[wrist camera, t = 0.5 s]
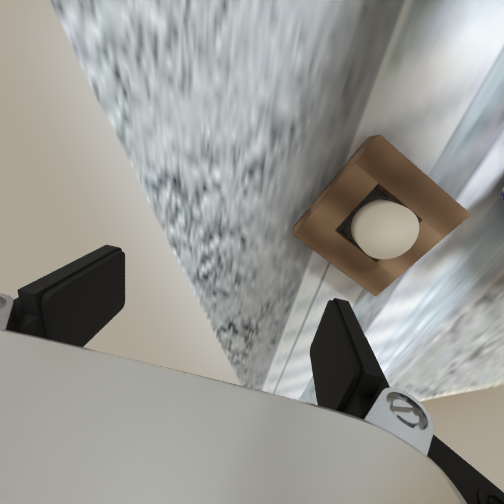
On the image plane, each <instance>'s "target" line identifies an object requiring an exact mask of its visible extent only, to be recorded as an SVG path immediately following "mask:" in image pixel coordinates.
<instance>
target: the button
mask: <svg viewBox="0 0 504 504" xmlns="http://www.w3.org/2000/svg"><path fill="white" fill-rule="evenodd" d="M351 234H352V237H353V239H354V240H355V242H356V243H357V244H358V245H359V246H360V247H361V249H362V250H363V251H364V252H365V253H366V254H368V255H369V256H371V257H373V258H376V259H391V258H395V257H398V256H400V255H402V254H403V253H405V252H406V251H408V250H409V249H410V248H411V247H412V245H413V244H414V243H415V241H416V239H417V237H418V234H419V222H418V219H417V217H416V215H415V214H414V213H413V212H412V211H411V210H410V209H408V208H406V207H404V206H402V205H399V204H397V203H395V202H392V201H389V200H375V201H372V202H369V203H367V204H366V205H364V206H363V207H361V208H360V209H359V210H358V211H357V212H356V214H355V215H354V217H353V219H352V222H351Z"/></svg>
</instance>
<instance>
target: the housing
mask: <svg viewBox="0 0 504 504" xmlns="http://www.w3.org/2000/svg"><path fill="white" fill-rule="evenodd" d="M375 187H377V188H378V189H380V190H381V191H382V192H383V193H384V194H386V195H387V196H388V197H389V198H390V199H392V200H393V201H394V202H395V203H397V204H399V205H402V206H404V207H406V208H408V209H410V210H411V211H412V212H413V213H414V214H415V215H416V217H417V219H418V222H419V234H418V237H417V239H416V241H415V243H414V244H413V245H412V247H411V248H410V249H409V250H408V251H406V252H405V253H403V254H402V255H400V256H398V257H395V258H391V259H376V258H373V257H371V256H369V255H368V254H366V253H365V252H364V251H363V250H362V249H361V247H359V246H358V245H357V244H356V243H354V242H353V241H352V240H350V239H349V238H348V237H347V236H345V235H344V234H343V233H341V232H340V231H339V230H338V229H337V227H338V226H339V225H340V224H341V223H342V222H343V221H344V220H345V219H346V218H347V217H348V216H349V215H350V213H351V212H352V211H353V210H354V209H355V208H356V207H357V206H358V205H359V204H360V203H361V202H362V201H363V199H364V198H365V197H366V196H367V195H368V194H369V193H370V192H371V191H372V190H373V189H374V188H375ZM470 215H471V214H470V213H469V212H468V211H467V210H466V209H464V208H463V207H462V206H461V205H460V204H459V203H457V202H456V201H455V200H454V199H453V198H452V197H451V196H449V195H448V194H447V193H446V192H445V191H444V190H443V189H441V188H440V187H439V186H438V185H437V184H436V183H435V182H433V181H432V180H431V179H430V178H429V177H428V176H427V175H425V174H424V173H423V172H422V171H421V170H420V169H419V168H417V167H416V166H415V165H414V164H413V163H412V162H411V161H409V160H408V159H407V158H406V157H405V156H404V155H403V154H401V153H400V152H399V151H398V150H397V149H396V148H394V147H393V146H392V145H391V144H390V143H389V142H388V141H386V140H385V139H384V138H383V137H382V136H381V135H376V136H371V137H368V138H367V140H366V141H365V142H364V143H363V144H362V145H361V147H360V148H359V149H358V150H357V151H356V153H355V154H354V155H353V156H352V157H351V159H350V160H349V161H348V162H347V163H346V165H345V166H344V167H343V168H342V169H341V171H340V172H339V173H338V174H337V175H336V176H335V178H334V179H333V180H332V181H331V182H330V184H329V185H328V186H327V187H326V188H325V190H324V191H323V192H322V193H321V194H320V196H319V197H318V198H317V199H316V200H315V202H314V203H313V204H312V205H311V206H310V207H309V209H308V210H307V211H306V212H305V213H304V215H303V216H302V217H301V218H300V219H299V221H298V222H297V223H296V224H295V225H294V227H293V233H294V236H295V237H297V238H298V239H299V240H301V241H302V242H303V243H305V244H306V245H307V246H309V247H310V248H311V249H313V250H314V251H315V252H317V253H318V254H319V255H321V256H322V257H323V258H325V259H326V260H327V261H329V262H330V263H331V264H333V265H334V266H335V267H337V268H338V269H339V270H341V271H342V272H344V273H345V274H346V275H348V276H349V277H350V278H352V279H353V280H354V281H356V282H357V283H358V284H360V285H361V286H362V287H364V288H365V289H366V290H368V291H369V292H370V293H372V294H373V295H374V296H377V295H378V294H379V293H380V292H382V291H383V290H384V289H385V288H386V287H387V286H389V285H390V284H391V283H392V282H393V281H394V280H396V279H397V278H398V277H399V276H400V275H401V274H402V273H404V272H405V271H406V270H407V269H408V268H409V267H411V266H412V265H413V264H414V263H415V262H416V261H418V260H419V259H420V258H421V257H422V256H423V255H425V254H426V253H427V252H428V251H429V250H430V249H432V248H433V247H434V246H435V245H436V244H437V243H438V242H440V241H441V240H442V239H443V238H444V237H445V236H447V235H448V234H449V233H450V232H451V231H452V230H454V229H455V228H456V227H457V226H458V225H459V224H461V223H462V222H463V221H464V220H465V219H466V218H468V217H469V216H470Z"/></svg>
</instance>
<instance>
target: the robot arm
mask: <svg viewBox="0 0 504 504" xmlns="http://www.w3.org/2000/svg"><path fill="white" fill-rule="evenodd" d="M18 295H19V297H18V298H16V299H14V300H13V298H12V297H10V296H9V295H6V294H0V504H504V493H503V492H502V491H501V490H500V489H499V488H497V487H496V486H495V485H494V484H493V483H491V482H490V481H489V480H488V479H486V478H485V477H484V476H483V475H482V474H481V473H479V472H478V471H477V470H476V469H474V468H473V467H472V466H471V465H470V464H468V463H467V462H466V461H465V460H464V459H462V458H461V457H460V456H459V455H458V454H456V453H455V452H454V451H453V450H451V449H450V448H449V447H448V446H447V445H445V444H444V443H443V442H442V441H441V440H439V439H438V438H437V437H436V436H435V435H433V433H434V422H433V420H432V417H431V416H430V414H429V413H428V411H427V409H425V407H424V406H423V405H422V404H421V403H420V402H419V401H418V400H417V399H415V398H414V397H413V396H411V395H410V394H408V393H407V392H405V391H402V390H400V389H398V388H392V387H390V386H389V384H388V382H387V380H386V378H385V376H384V374H383V372H382V370H381V368H380V366H379V363H378V361H377V359H376V357H375V355H374V353H373V351H372V349H371V347H370V345H369V343H368V340H367V338H366V337H365V335H364V333H363V331H362V329H361V327H360V324H359V322H358V320H357V318H356V316H355V314H354V312H353V310H352V308H351V306H350V303H349V302H348V301H346V300H341V299H337V298H334V299H333V301H332V300H329V301H328V303H327V306H326V308H325V311H324V313H323V316H322V319H321V321H320V324H319V326H318V329H317V331H316V334H315V337H314V339H313V342H312V344H311V347H310V358H311V365H312V371H313V378H314V384H315V391H316V397H317V404H318V405H315V404H311V403H307V402H303V401H299V400H295V399H291V398H288V397H284V396H280V395H276V394H272V393H268V392H264V391H260V390H256V389H252V388H248V387H244V386H240V385H236V384H232V383H227V382H224V381H220V380H215V379H212V378H207V377H203V376H199V375H195V374H191V373H187V372H183V371H179V370H175V369H171V368H167V367H162V366H158V365H154V364H150V363H146V362H142V361H138V360H134V359H129V358H125V357H121V356H116V355H113V354H108V353H104V352H100V351H96V350H91V349H87V348H83V346H85V344H87V343H88V342H89V341H90V340H91V339H92V338H93V337H94V336H95V335H96V334H97V333H98V332H99V331H100V330H101V329H102V328H103V327H104V326H105V325H106V324H107V323H108V322H109V321H110V320H111V319H112V318H113V317H114V316H115V315H116V314H117V313H118V312H119V311H120V310H121V309H122V308H123V307H124V304H125V253H124V252H122V250H121V248H119V247H114V246H110V245H105V246H103V247H101V248H99V249H97V250H95V251H93V252H91V253H89V254H87V255H85V256H83V257H81V258H79V259H77V260H75V261H73V262H71V263H70V264H68V265H65V266H64V267H62V268H60V269H58V270H56V271H54V272H52V273H50V274H48V275H46V276H44V277H42V278H40V279H38V280H37V281H34V282H32V283H30V284H28V285H26V286H24V287H22V288H20V289H18Z"/></svg>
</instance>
